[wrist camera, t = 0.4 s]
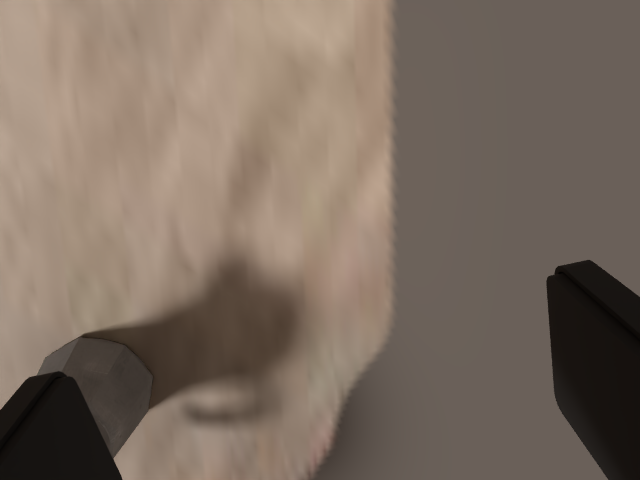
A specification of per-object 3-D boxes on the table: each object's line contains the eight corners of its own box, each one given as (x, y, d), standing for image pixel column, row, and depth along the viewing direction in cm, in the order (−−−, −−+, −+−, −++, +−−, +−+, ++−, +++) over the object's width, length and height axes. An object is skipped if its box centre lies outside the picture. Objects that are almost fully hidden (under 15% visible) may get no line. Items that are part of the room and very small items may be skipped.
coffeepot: (15, 322, 40) (-193, 521, 23) (131, 304, 40) (6, 492, 23) (78, 471, 46) (-54, 719, 29) (181, 456, 45) (109, 697, 29)
